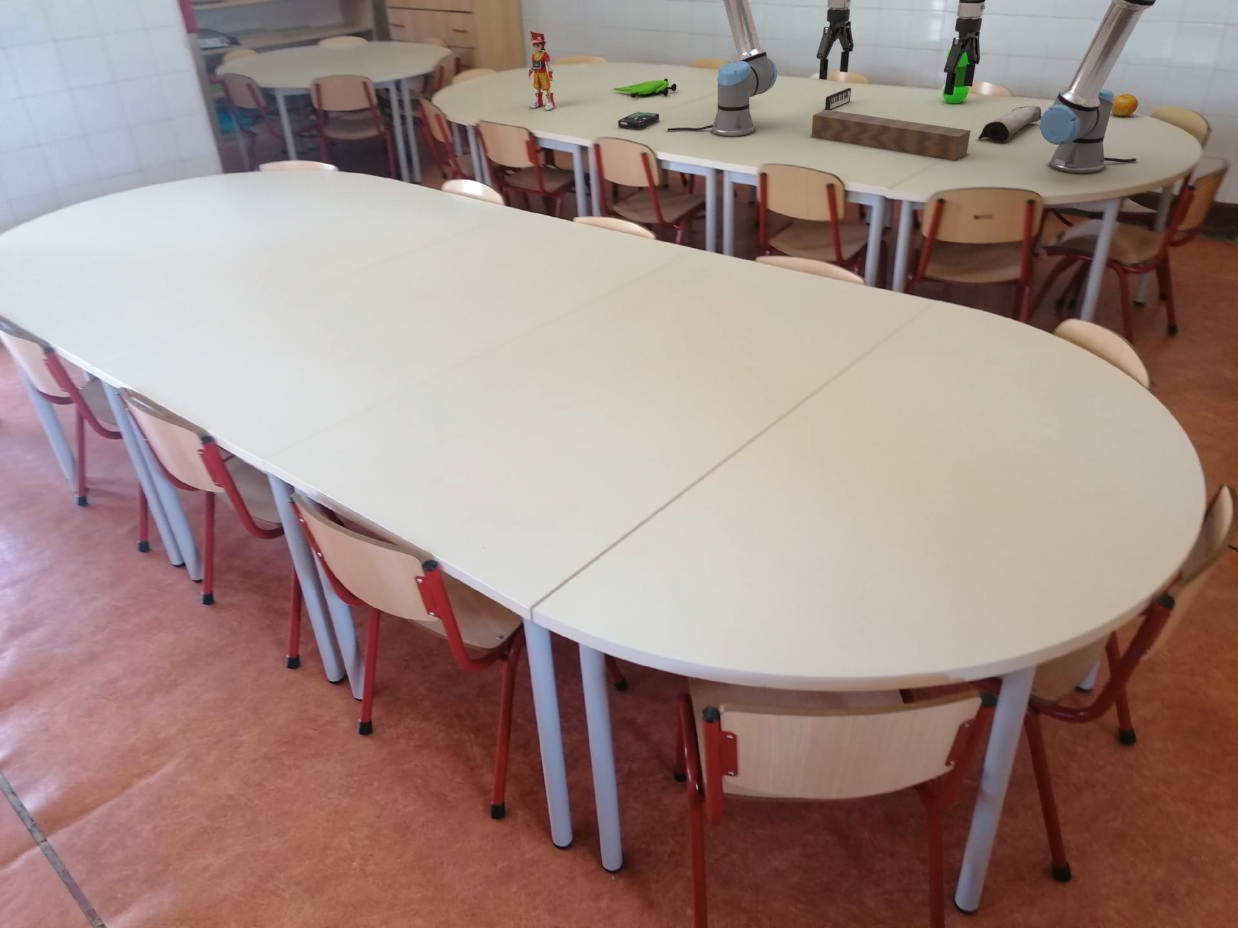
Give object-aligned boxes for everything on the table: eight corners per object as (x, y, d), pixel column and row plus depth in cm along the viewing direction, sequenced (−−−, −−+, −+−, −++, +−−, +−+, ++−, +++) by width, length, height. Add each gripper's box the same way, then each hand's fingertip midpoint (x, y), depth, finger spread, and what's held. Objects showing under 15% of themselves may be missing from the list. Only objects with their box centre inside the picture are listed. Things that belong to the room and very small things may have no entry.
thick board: (811, 137, 325) (812, 115, 321) (824, 131, 330) (826, 109, 326) (954, 160, 294) (958, 136, 289) (966, 154, 299) (970, 130, 294)
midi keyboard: (827, 110, 354) (828, 97, 351) (824, 110, 354) (825, 97, 352) (850, 101, 364) (851, 88, 361) (847, 101, 365) (848, 88, 362)
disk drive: (640, 130, 344) (659, 120, 354) (640, 123, 343) (659, 113, 353) (617, 128, 349) (637, 118, 359) (617, 120, 348) (636, 111, 358)
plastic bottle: (973, 101, 354) (984, 32, 339) (955, 106, 349) (966, 36, 335) (952, 97, 361) (962, 29, 346) (934, 102, 356) (944, 33, 342)
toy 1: (525, 109, 381) (517, 32, 364) (534, 104, 388) (527, 28, 371) (550, 110, 377) (543, 32, 360) (559, 105, 384) (553, 28, 367)
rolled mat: (1009, 110, 328) (1033, 93, 320) (1023, 131, 328) (1047, 114, 320) (974, 133, 311) (998, 115, 302) (988, 155, 311) (1013, 138, 303)
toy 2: (686, 85, 398) (631, 84, 414) (685, 72, 395) (629, 72, 411) (651, 104, 381) (596, 103, 397) (650, 92, 378) (594, 91, 394)
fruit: (1107, 107, 323) (1124, 87, 320) (1104, 110, 331) (1120, 91, 328) (1128, 120, 322) (1144, 99, 319) (1124, 123, 330) (1140, 103, 327)
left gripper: (828, 14, 292) (823, 84, 304) (867, 3, 307) (861, 70, 319) (808, 13, 296) (804, 81, 308) (848, 2, 311) (842, 67, 323)
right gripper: (963, 24, 265) (951, 100, 278) (998, 12, 280) (986, 83, 292) (939, 23, 270) (928, 97, 282) (975, 10, 284) (964, 81, 297)
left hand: (833, 75), depth 313 cm, fingers open, 13 cm apart
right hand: (958, 90), depth 287 cm, fingers open, 13 cm apart
